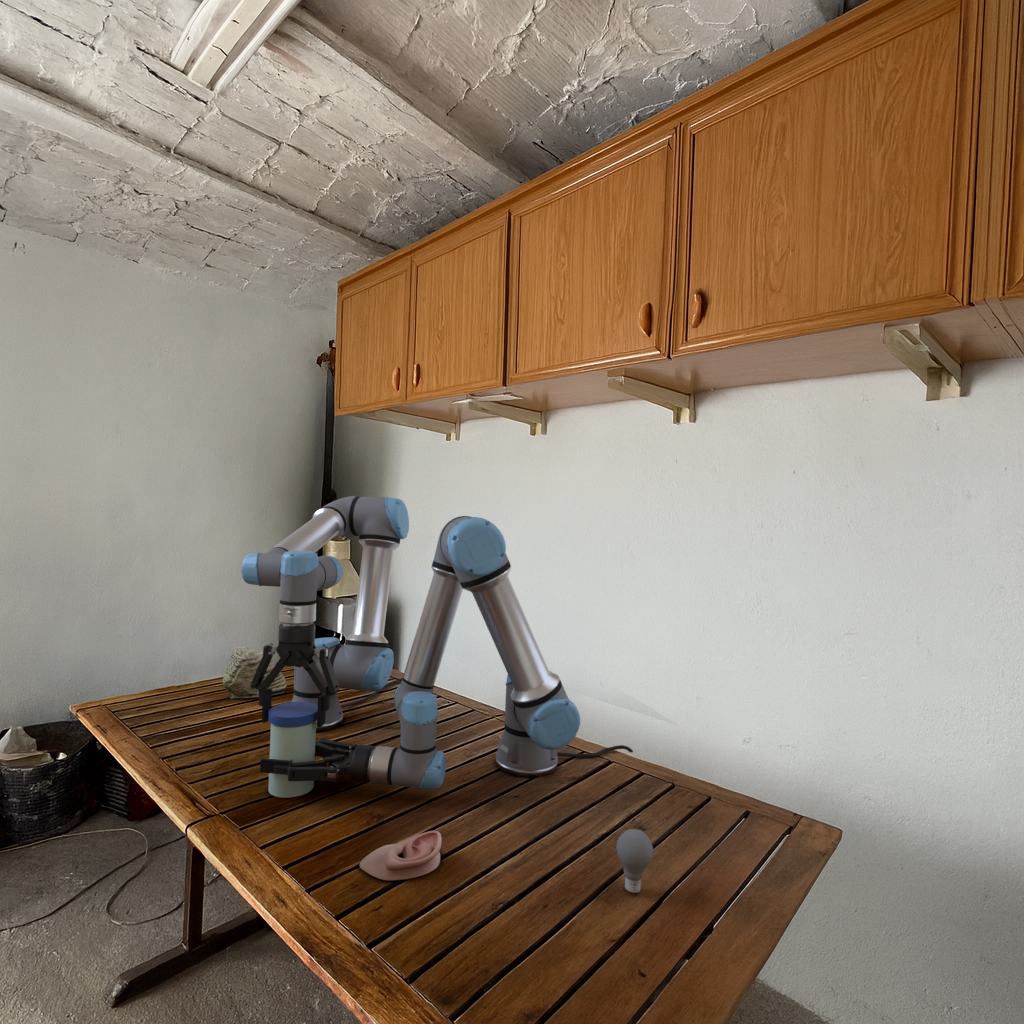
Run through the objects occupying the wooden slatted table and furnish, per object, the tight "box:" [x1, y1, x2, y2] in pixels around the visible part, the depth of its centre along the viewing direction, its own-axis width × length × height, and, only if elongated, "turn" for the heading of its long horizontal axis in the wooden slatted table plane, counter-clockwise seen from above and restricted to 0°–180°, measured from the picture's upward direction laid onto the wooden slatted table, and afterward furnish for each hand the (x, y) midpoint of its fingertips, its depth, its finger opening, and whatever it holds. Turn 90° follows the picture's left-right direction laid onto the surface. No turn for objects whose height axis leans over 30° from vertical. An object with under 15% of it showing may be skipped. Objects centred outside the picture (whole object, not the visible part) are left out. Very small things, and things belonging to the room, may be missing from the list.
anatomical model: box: [359, 830, 443, 882], centre depth 111 cm, size 13×4×12 cm
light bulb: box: [615, 828, 654, 894], centre depth 106 cm, size 6×6×10 cm
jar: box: [267, 721, 317, 799], centre depth 137 cm, size 9×9×16 cm
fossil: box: [222, 646, 288, 699], centre depth 198 cm, size 9×18×15 cm, turn 132°
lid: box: [268, 701, 318, 727], centre depth 137 cm, size 10×10×2 cm
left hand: (293, 722), depth 137 cm, fingers open, 12 cm apart
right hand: (272, 755), depth 138 cm, fingers closed on jar, 9 cm apart
